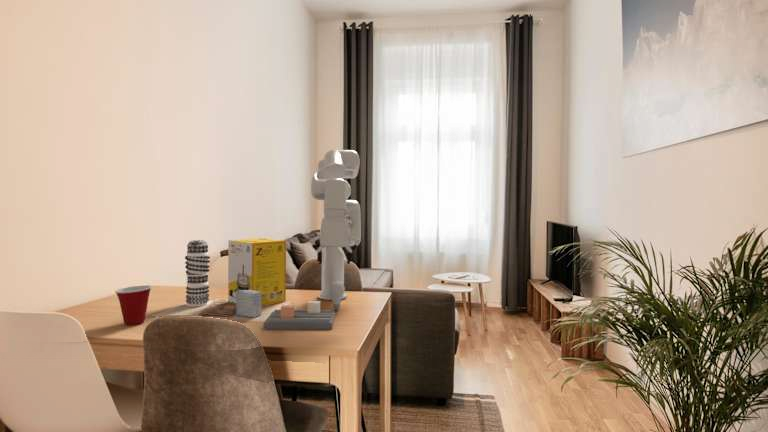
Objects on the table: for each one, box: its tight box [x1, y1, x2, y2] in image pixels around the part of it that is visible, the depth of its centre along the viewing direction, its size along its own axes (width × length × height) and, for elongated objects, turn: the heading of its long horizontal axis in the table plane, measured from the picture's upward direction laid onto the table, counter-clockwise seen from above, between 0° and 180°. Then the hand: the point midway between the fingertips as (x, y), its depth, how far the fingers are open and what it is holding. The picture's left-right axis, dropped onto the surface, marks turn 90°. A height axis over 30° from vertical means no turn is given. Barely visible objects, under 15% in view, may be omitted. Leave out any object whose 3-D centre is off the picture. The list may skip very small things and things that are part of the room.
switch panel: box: [263, 309, 336, 330], centre depth 156 cm, size 15×22×3 cm
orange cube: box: [280, 304, 295, 318], centre depth 152 cm, size 3×4×4 cm
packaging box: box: [227, 237, 287, 307], centre depth 186 cm, size 16×16×25 cm
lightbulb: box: [329, 281, 346, 311], centre depth 174 cm, size 6×6×11 cm
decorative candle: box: [184, 239, 211, 308], centre depth 180 cm, size 9×9×25 cm
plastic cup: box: [114, 285, 153, 326], centre depth 152 cm, size 11×11×12 cm
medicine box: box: [235, 290, 262, 318], centre depth 165 cm, size 8×4×9 cm, turn 65°
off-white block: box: [307, 300, 321, 313], centre depth 159 cm, size 3×4×4 cm
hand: (334, 263), depth 159 cm, fingers open, 9 cm apart
